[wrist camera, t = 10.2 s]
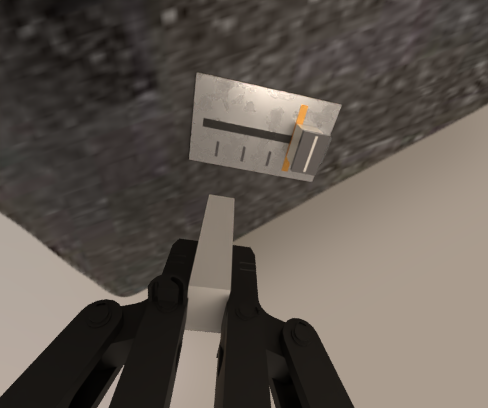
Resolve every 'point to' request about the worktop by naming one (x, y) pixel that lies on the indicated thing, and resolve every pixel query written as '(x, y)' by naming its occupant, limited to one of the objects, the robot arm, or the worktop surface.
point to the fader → (307, 149)
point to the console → (252, 124)
